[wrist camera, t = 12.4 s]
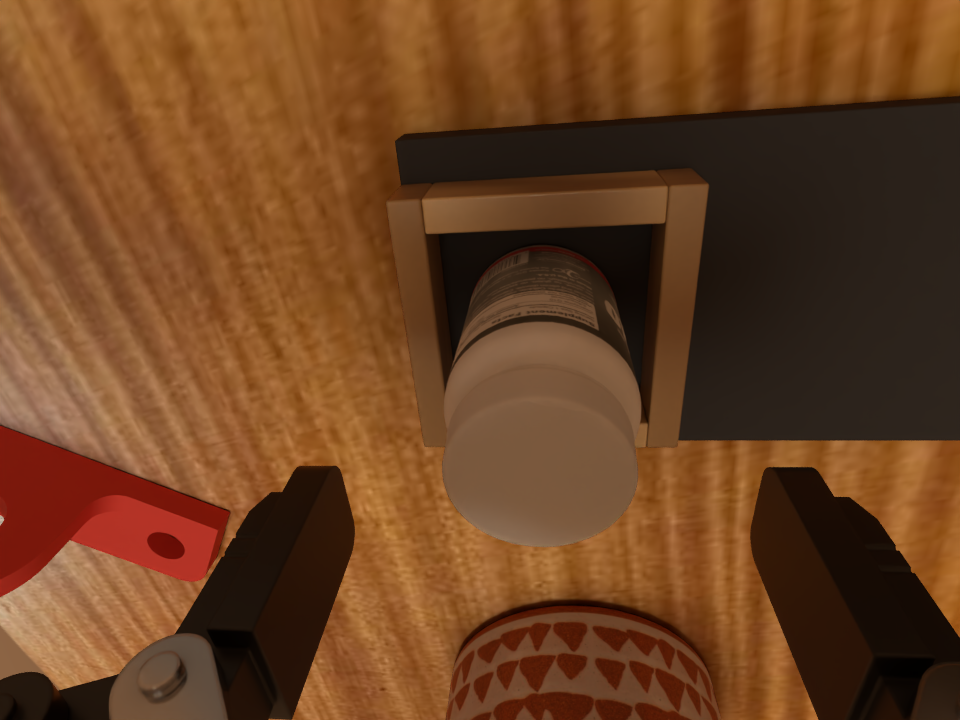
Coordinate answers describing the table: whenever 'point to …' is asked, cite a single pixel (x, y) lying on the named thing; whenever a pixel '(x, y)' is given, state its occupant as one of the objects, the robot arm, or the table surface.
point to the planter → (579, 670)
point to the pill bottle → (542, 403)
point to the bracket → (95, 514)
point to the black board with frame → (715, 260)
